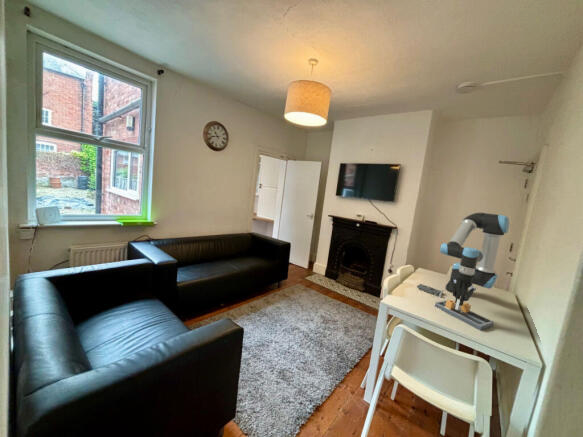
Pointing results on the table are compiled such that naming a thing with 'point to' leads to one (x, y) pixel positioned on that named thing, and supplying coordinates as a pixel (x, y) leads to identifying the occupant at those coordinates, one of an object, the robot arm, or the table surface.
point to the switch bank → (466, 316)
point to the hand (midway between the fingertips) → (457, 309)
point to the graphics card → (430, 290)
